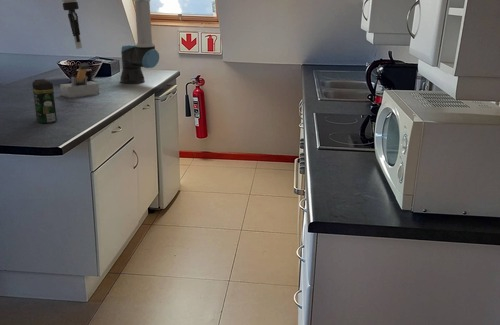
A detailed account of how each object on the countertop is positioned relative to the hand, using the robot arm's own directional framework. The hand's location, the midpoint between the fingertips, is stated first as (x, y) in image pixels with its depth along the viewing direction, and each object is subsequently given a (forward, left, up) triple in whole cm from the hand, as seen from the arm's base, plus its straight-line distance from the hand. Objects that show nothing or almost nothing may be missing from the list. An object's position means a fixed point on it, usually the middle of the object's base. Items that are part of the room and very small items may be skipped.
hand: (79, 48), depth 261 cm
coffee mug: (-6, -29, -26) cm, 39 cm away
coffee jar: (+26, +46, -26) cm, 59 cm away
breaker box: (0, -5, -26) cm, 27 cm away
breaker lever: (+1, -6, -20) cm, 20 cm away
